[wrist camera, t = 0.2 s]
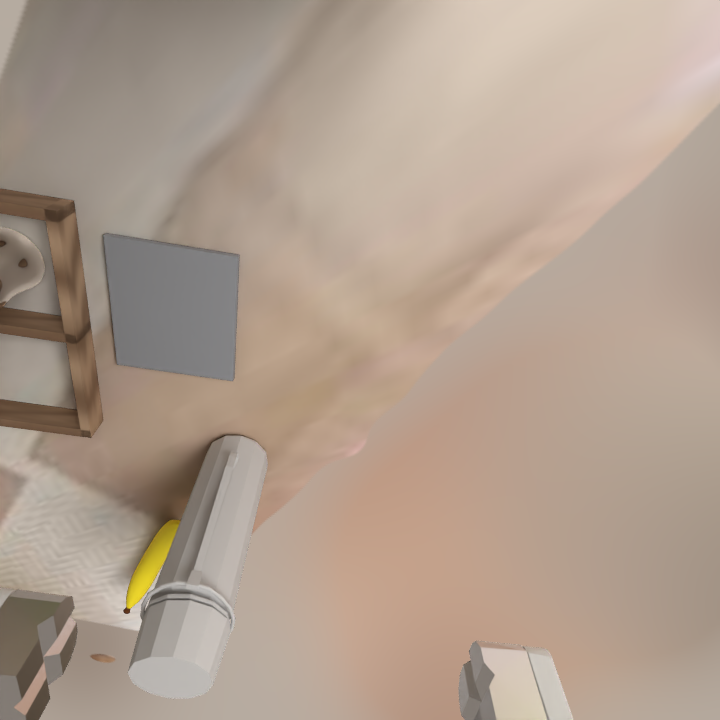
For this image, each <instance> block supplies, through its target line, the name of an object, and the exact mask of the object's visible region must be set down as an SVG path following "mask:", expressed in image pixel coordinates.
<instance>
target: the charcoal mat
mask: <svg viewBox="0 0 720 720" xmlns="http://www.w3.org/2000/svg"><path fill="white" fill-rule="evenodd" d="M103 238H104V247H105V256H106V266H107V275H108V284H109V294H110V303H111V313H112V322H113V331H114V341H115V350H116V359H117V365H124V366H131V367H138V368H145V369H152V370H159V371H166V372H173V373H180V374H186V375H193V376H200V377H207V378H214V379H221V380H228V381H233V380H234V375H235V352H236V328H237V304H238V281H239V257H240V255H238V254H232V253H226V252H220V251H214V250H207V249H201V248H195V247H189V246H183V245H177V244H170V243H164V242H158V241H152V240H146V239H140V238H134V237H127V236H121V235H115V234H109V233H106V234H104V235H103Z"/></svg>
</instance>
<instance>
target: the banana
mask: <svg viewBox="0 0 720 720" xmlns="http://www.w3.org/2000/svg"><path fill="white" fill-rule="evenodd" d="M180 521H181V520H170V521H168V522H167V523H166V524H165V525H164V526H163V527H162V528H161V529H160V530H159V531H158V533H157V534H156V536H155V537H154V539H153V540H152V542H151V544H150V545H149V547H148V548H147V550H146V552H145V553H144V555H143V557H142V559H141V560H140V562H139V564H138V566H137V568H136V570H135V571H134V574H133V576H132V578H131V581H130V584H129V587H128V591H127V597H126V608H125V609H124V610H123V611H124V613H125V614H128V613H130V608H132V607H133V606H134V605H135V604H136V603H138V602H139V601H140V599H141V598H142V597H143V596H144V595H145V593H146V592H147V591H148V589H149V588H150V586H151V585H152V583H153V581H154V579H155V578H156V576H157V574H158V572H159V570H160V569H161V567H162V565H163V564H164V562H165V560H166V557H167V555H168V552H169V549H170V547H171V544H172V542H173V539H174V537H175V534H176V531H177V529H178V526H179V524H180Z"/></svg>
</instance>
